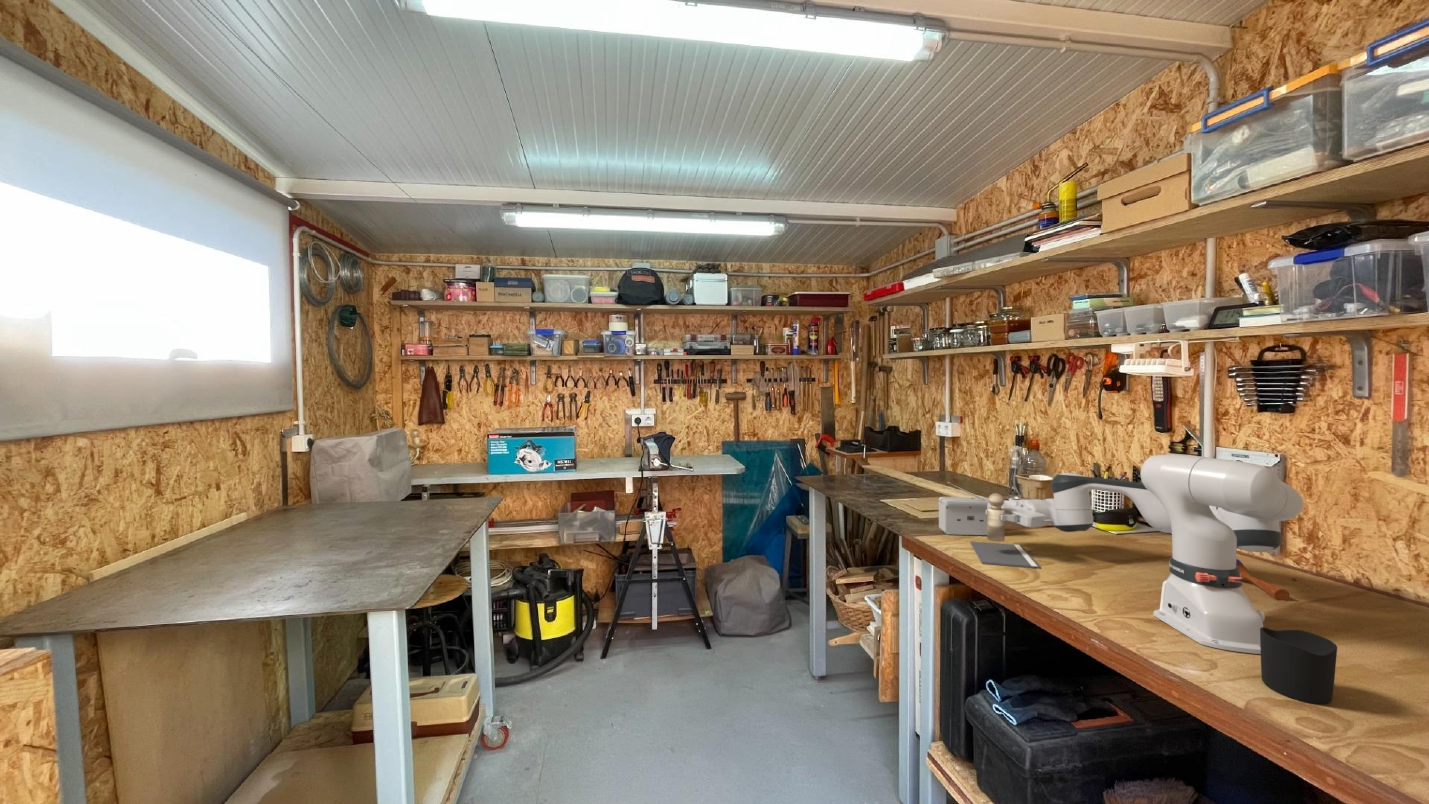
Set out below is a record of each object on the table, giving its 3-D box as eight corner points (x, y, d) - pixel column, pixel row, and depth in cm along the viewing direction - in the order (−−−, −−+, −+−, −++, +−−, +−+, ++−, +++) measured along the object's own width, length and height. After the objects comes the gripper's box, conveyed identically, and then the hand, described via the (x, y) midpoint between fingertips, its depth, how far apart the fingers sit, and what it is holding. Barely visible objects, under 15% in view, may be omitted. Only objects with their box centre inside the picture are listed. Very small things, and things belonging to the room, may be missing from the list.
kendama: (1266, 585, 135) (1208, 554, 154) (1269, 607, 135) (1211, 573, 155) (1294, 582, 133) (1232, 551, 153) (1296, 604, 134) (1234, 571, 153)
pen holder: (1332, 713, 89) (1334, 656, 89) (1254, 687, 97) (1255, 635, 97) (1338, 693, 95) (1339, 639, 94) (1263, 670, 102) (1265, 620, 102)
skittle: (1006, 542, 169) (1006, 495, 169) (988, 540, 171) (989, 494, 170) (1002, 537, 174) (1002, 492, 173) (986, 536, 176) (986, 491, 175)
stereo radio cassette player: (995, 531, 199) (995, 479, 198) (1004, 537, 191) (1004, 483, 190) (938, 529, 202) (938, 478, 201) (944, 535, 194) (944, 482, 193)
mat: (1040, 568, 159) (1040, 566, 159) (982, 563, 164) (982, 561, 164) (1021, 546, 180) (1021, 545, 180) (970, 543, 185) (970, 541, 185)
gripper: (1055, 531, 164) (1016, 533, 162) (1009, 514, 184) (973, 517, 182) (1056, 511, 164) (1016, 513, 162) (1009, 497, 184) (973, 499, 182)
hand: (993, 515), depth 172 cm, fingers closed on skittle, 5 cm apart
